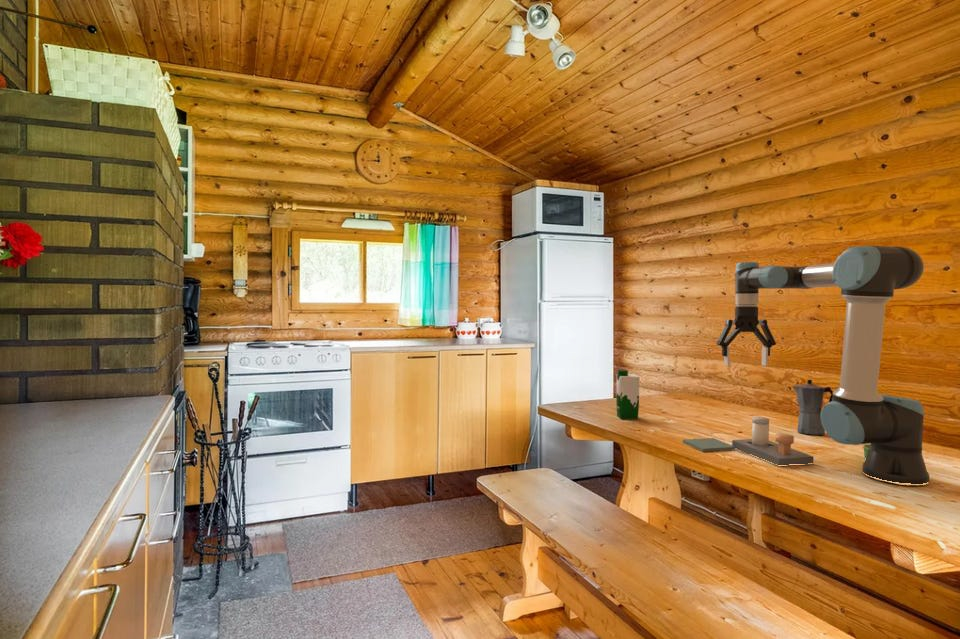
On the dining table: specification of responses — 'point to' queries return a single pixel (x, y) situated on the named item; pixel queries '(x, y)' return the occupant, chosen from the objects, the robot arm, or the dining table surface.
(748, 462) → the dining table surface
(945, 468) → the dining table surface
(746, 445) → the housing
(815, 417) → the moka pot
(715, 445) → the mat
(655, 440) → the dining table surface
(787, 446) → the brown mushroom
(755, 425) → the cylinder
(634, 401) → the milk carton
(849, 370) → the robot arm
